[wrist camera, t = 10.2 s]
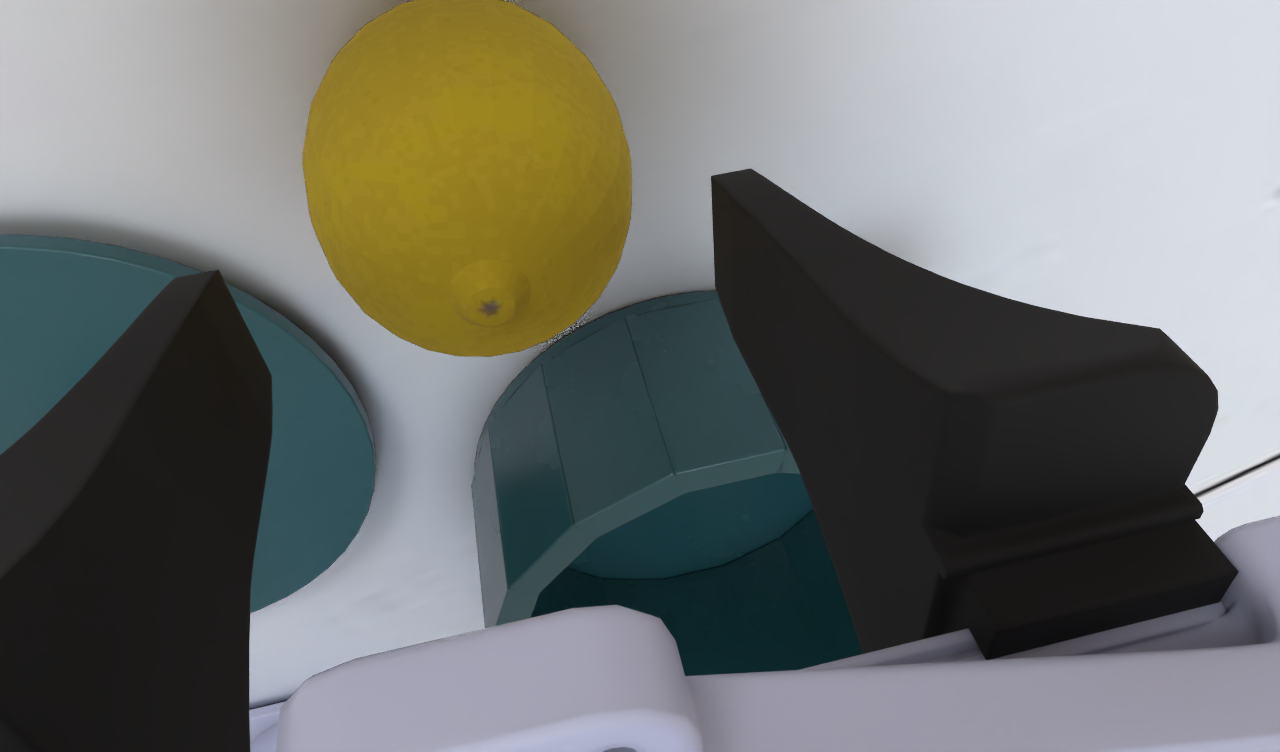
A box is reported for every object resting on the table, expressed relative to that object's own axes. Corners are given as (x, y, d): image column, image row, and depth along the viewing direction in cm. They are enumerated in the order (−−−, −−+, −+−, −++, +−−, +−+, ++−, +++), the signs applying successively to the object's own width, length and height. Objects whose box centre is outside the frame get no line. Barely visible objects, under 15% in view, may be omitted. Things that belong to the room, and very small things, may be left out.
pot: (1019, 338, 28) (1138, 484, 23) (648, 651, 35) (686, 805, 31) (734, 123, 21) (827, 272, 16) (348, 569, 28) (342, 753, 24)
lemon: (540, -107, 17) (625, 69, 11) (618, 149, 21) (711, 380, 15) (261, -10, 17) (196, 216, 11) (389, 227, 21) (392, 487, 15)
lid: (471, 371, 24) (486, 505, 21) (244, 645, 30) (225, 786, 26) (-162, 94, 16) (-305, 233, 13) (-305, 531, 22) (-430, 707, 19)
